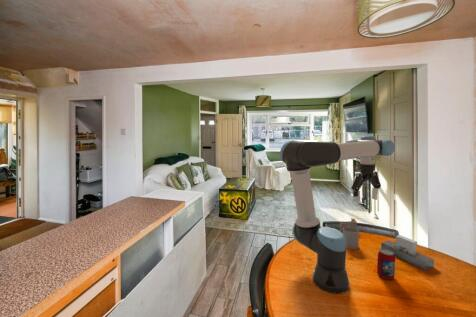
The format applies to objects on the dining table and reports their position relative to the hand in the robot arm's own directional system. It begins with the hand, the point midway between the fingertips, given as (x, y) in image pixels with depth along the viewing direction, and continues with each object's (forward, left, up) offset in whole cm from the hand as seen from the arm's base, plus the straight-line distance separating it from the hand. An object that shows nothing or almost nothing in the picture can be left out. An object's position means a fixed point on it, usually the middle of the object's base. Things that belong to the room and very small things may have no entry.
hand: (365, 200), depth 124 cm
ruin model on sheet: (+9, +20, -29) cm, 37 cm away
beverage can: (-13, -22, -29) cm, 39 cm away
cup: (-4, +6, -29) cm, 30 cm away
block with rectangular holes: (+12, -15, -29) cm, 35 cm away
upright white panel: (+12, -15, -29) cm, 35 cm away
